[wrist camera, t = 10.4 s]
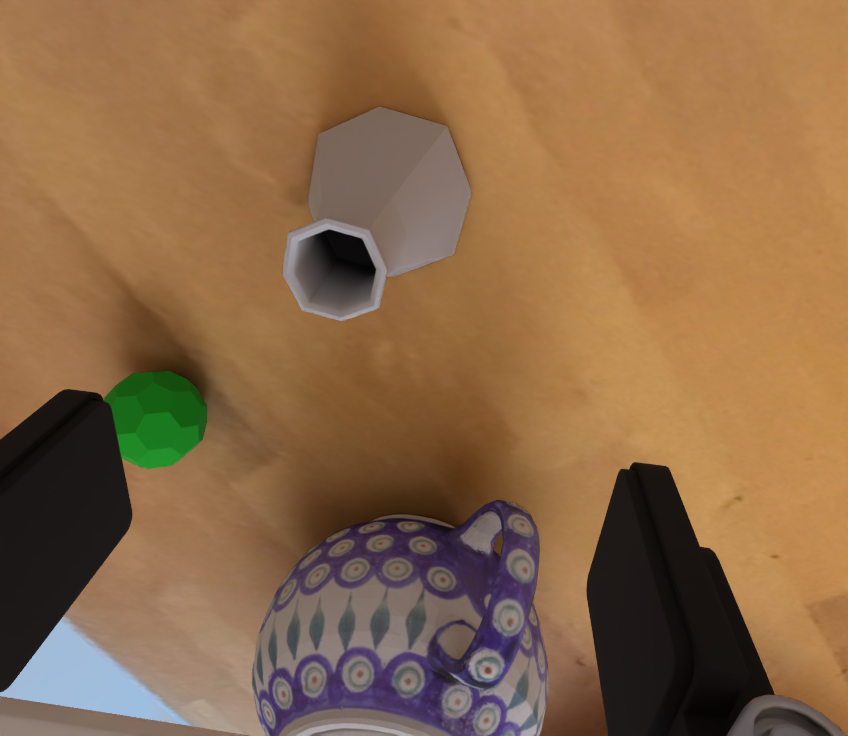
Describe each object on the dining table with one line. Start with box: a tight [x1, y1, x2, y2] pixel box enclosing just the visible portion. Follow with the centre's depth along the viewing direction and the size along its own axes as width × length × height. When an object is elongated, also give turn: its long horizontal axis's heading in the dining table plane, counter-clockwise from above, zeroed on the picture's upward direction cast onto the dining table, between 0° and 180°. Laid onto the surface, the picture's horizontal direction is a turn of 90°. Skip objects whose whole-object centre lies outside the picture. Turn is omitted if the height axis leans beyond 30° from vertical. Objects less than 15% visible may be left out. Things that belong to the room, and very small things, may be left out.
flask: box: [282, 106, 472, 321], centre depth 22 cm, size 7×7×10 cm
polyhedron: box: [104, 371, 207, 469], centre depth 31 cm, size 5×5×5 cm
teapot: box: [252, 500, 548, 736], centre depth 31 cm, size 25×15×15 cm, turn 150°
